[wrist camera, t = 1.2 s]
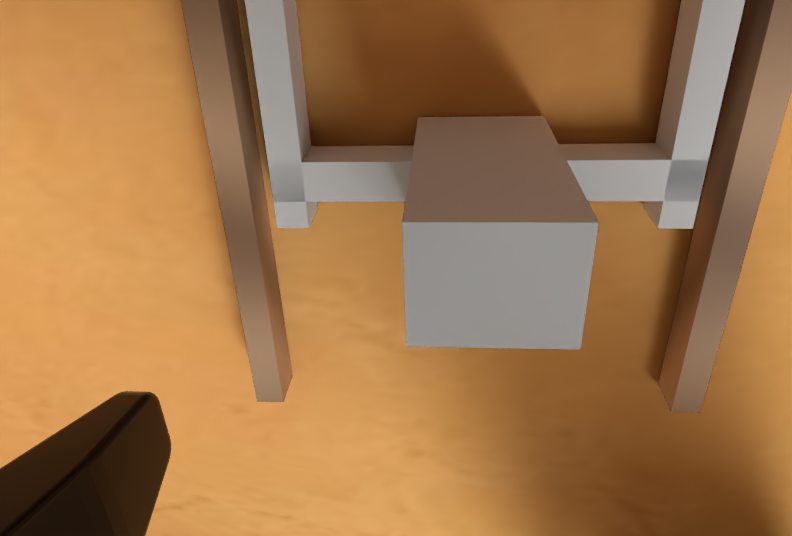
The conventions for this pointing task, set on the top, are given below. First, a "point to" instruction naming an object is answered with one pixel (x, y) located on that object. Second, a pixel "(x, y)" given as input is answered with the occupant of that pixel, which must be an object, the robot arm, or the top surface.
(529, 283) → the grey sliding frame
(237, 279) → the lane frame
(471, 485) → the top surface
